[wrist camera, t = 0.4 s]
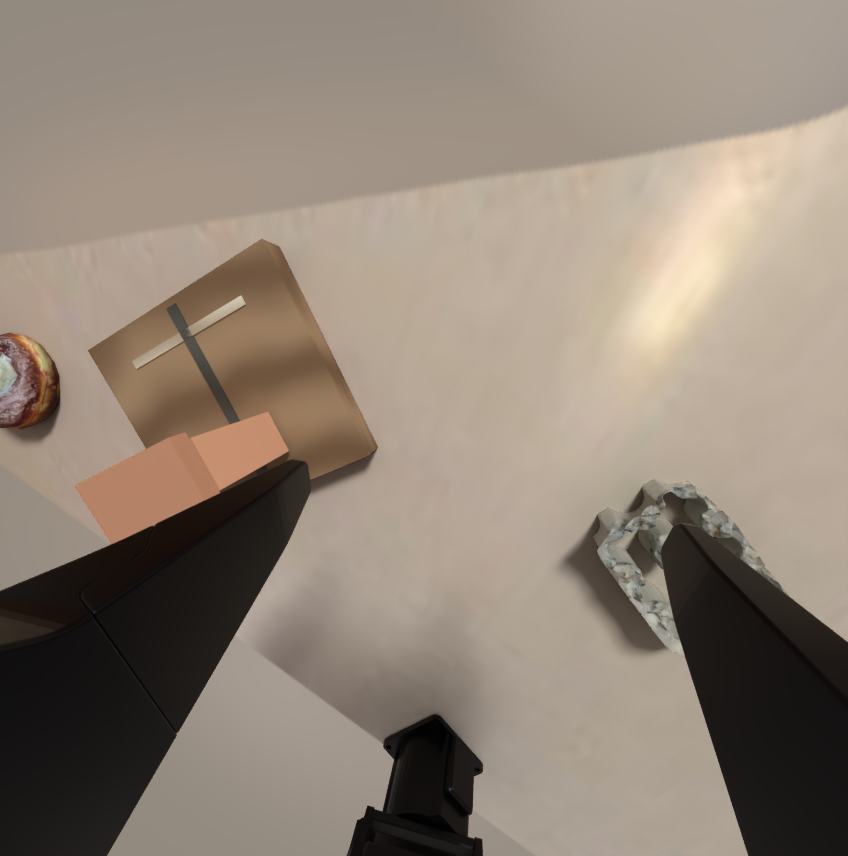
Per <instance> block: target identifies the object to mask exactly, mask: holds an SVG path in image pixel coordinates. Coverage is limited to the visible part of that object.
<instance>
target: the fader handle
mask: <svg viewBox="0 0 848 856" xmlns="http://www.w3.org/2000/svg"><path fill="white" fill-rule="evenodd" d="M288 451H289V450H288V448H287V446H286V444H285V442H284V441H283V439H282V437H281V435H280V433H279V431H278V429H277V427H276V426H275V424H274V422H273V420H272V418H271V416H270V414H269V412H265V413H262V414H259V415H256V416H253V417H250V418H248V419H245V420H242V421H239V422H236V423H233V424H230V425H227V426H224V427H221V428H218V429H215V430H212V431H209V432H206V433H203V434H200V435H197V436H195V437H192V438H188V436H187V434H186V432H185V433H182V434H178V435H175V436H172V437H169V438H167V439H165V440H163V441H161V442H159V443H157V444H155V445H153V446H151V447H149V448H147V449H145V450H143V451H141V452H139V453H137V454H136V455H134V456H132V457H130V458H128V459H126V460H124V461H122V462H120V463H118V464H116V465H114V466H112V467H110V468H108V469H106V470H104V471H102V472H100V473H98V474H97V475H95V476H93V477H91V478H89V479H87V480H85V481H83V482H81V483H79V484H77V485H75V488H76V489H77V491H78V493H79V494H80V496H81V497H82V499H83V500H84V502H85V504H86V505H87V507H88V508H89V510H90V511H91V513H92V514H93V516H94V518H95V519H96V521H97V522H98V524H99V525H100V527H101V529H102V530H103V532H104V533H105V535H106V536H107V538H108V540H109V541H110V543H111V544H113V543H115V542H118V541H120V540H122V539H124V538H126V537H128V536H131V535H133V534H135V533H137V532H139V531H141V530H143V529H145V528H147V527H150V526H155V524H156V523H158V522H160V521H162V520H164V519H166V518H169V517H171V516H173V515H175V514H177V513H179V512H181V511H183V510H185V509H187V508H189V507H192V506H194V505H196V504H198V503H200V502H202V501H204V500H206V499H208V498H210V497H212V496H215V495H217V494H219V493H220V492H219V491H220V490H222V489H223V488H225V487H227V486H229V485H230V484H232V483H234V482H236V481H237V480H239V479H241V478H243V477H244V476H246V475H248V474H250V473H251V472H253V471H255V470H257V469H258V468H260V467H262V466H264V465H265V464H267V463H269V462H271V461H272V460H274V459H276V458H278V457H279V456H281V455H283V454H285V453H286V452H288Z"/></svg>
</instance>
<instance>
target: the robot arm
mask: <svg viewBox="0 0 848 856" xmlns="http://www.w3.org/2000/svg"><path fill="white" fill-rule="evenodd" d="M310 491H311V481H310V474H309V467H308V464H307V462H306V461H303V460H297V459H290V460H288V461H286V462H284V463H281V464H279V465H277V466H275V467H273V468H271V469H269V470H267V471H265V472H263V473H261V474H259V475H256V476H254V477H252V478H250V479H248V480H246V481H244V482H242V483H240V484H238V485H236V486H233V487H231V488H229V489H227V490H225V491H223V492H221V493H219V494H217V495H215V496H212V497H210V498H208V499H206V500H204V501H202V502H200V503H198V504H196V505H194V506H192V507H189V508H187V509H185V510H183V511H181V512H179V513H177V514H175V515H173V516H171V517H169V518H166V519H164V520H162V521H160V522H158V523H156V524H155V526H150V527H147V528H145V529H143V530H141V531H139V532H137V533H135V534H133V535H131V536H128V537H126V538H124V539H122V540H120V541H118V542H115V543H113V544H111V545H109V546H107V547H105V548H102V549H100V550H98V551H95V552H93V553H91V554H88V555H86V556H84V557H81V558H79V559H76V560H74V561H71V562H69V563H67V564H65V565H62V566H59V567H57V568H55V569H52V570H50V571H47V572H45V573H42V574H40V575H38V576H35V577H33V578H30V579H28V580H25V581H23V582H21V583H18V584H16V585H13V586H11V587H8V588H6V589H4V590H1V591H0V856H107V854H108V853H109V851H110V849H111V848H112V846H113V844H114V842H115V841H116V839H117V837H118V836H119V834H120V832H121V831H122V829H123V827H124V825H125V824H126V822H127V820H128V819H129V817H130V815H131V813H132V812H133V810H134V808H135V806H136V805H137V803H138V801H139V800H140V798H141V796H142V794H143V793H144V791H145V789H146V787H147V786H148V784H149V782H150V781H151V779H152V777H153V775H154V774H155V772H156V770H157V768H158V766H159V765H160V763H161V762H162V760H163V758H164V757H165V755H166V753H167V751H168V750H169V748H170V746H171V744H172V743H173V741H174V739H175V738H176V735H177V734H176V733H177V732H179V730H180V728H181V727H182V725H183V723H184V722H185V720H186V718H187V716H188V715H189V713H190V711H191V710H192V707H193V706H194V704H195V703H196V701H197V699H198V697H199V696H200V694H201V692H202V691H203V689H204V687H205V685H206V684H207V682H208V680H209V678H210V677H211V675H212V673H213V672H214V670H215V668H216V666H217V665H218V663H219V661H220V660H221V658H222V656H223V654H224V652H225V651H226V649H227V648H228V646H229V644H230V642H231V641H232V639H233V637H234V635H235V634H236V632H237V630H238V629H239V627H240V625H241V623H242V622H243V620H244V618H245V616H246V615H247V613H248V611H249V610H250V608H251V606H252V604H253V603H254V601H255V599H256V598H257V596H258V594H259V592H260V591H261V589H262V587H263V585H264V584H265V582H266V580H267V579H268V577H269V575H270V573H271V572H272V570H273V568H274V567H275V565H276V563H277V561H278V560H279V558H280V556H281V554H282V553H283V551H284V549H285V547H286V546H287V544H288V542H289V539H290V537H291V535H292V533H293V531H294V528H295V526H296V524H297V522H298V519H299V517H300V515H301V513H302V510H303V508H304V506H305V504H306V501H307V499H308V497H309V494H310ZM661 560H662V565H663V570H664V575H665V580H666V585H667V590H668V595H669V600H670V605H671V610H672V615H673V619H674V623H675V626H676V629H677V633H678V636H679V639H680V642H681V645H682V648H683V652H684V655H685V658H686V661H687V664H688V667H689V671H690V674H691V677H692V680H693V683H694V686H695V689H696V693H697V696H698V699H699V702H700V705H701V708H702V711H703V715H704V718H705V721H706V724H707V727H708V730H709V733H710V737H711V740H712V743H713V746H714V749H715V752H716V755H717V759H718V762H719V765H720V768H721V771H722V774H723V777H724V781H725V784H726V787H727V790H728V793H729V796H730V800H731V803H732V806H733V809H734V812H735V815H736V818H737V822H738V825H739V828H740V831H741V834H742V837H743V840H744V844H745V847H746V850H747V853H748V856H848V642H847V641H846V640H844V639H843V638H842V637H840V636H839V635H838V634H837V633H835V632H834V631H833V630H831V629H830V628H829V627H828V626H826V625H825V624H824V623H822V622H821V621H820V620H819V619H817V618H816V617H815V616H813V615H812V614H811V613H810V612H808V611H807V610H806V609H804V608H803V607H802V606H801V605H799V604H798V603H797V602H795V601H794V600H793V599H792V598H790V597H789V596H788V595H786V594H785V593H784V592H783V591H781V590H780V589H779V588H777V587H776V586H775V585H774V584H772V583H771V582H770V581H768V580H767V579H766V578H765V577H763V576H762V575H761V574H759V573H758V572H757V571H756V570H754V569H753V568H752V567H750V566H749V565H748V564H747V563H745V562H744V561H743V560H741V559H740V558H739V557H738V556H736V555H735V554H734V553H732V552H731V551H730V550H729V549H727V548H726V547H725V546H723V545H722V544H721V543H720V542H718V541H717V540H716V539H714V538H713V537H712V536H711V535H709V534H708V533H707V532H705V531H704V530H703V529H702V528H700V527H699V526H697V525H693V524H687V523H676V524H675V525H674V526H673V527H672V529H671V531H670V532H669V534H668V536H667V538H666V540H665V541H664V543H663V545H662V548H661ZM383 746H384V749H385V750H386V751H387V752H388V753H389V754H390V755H391V756H392V758H393V759H394V763H393V767H392V772H391V776H390V780H389V785H388V789H387V794H386V798H385V803H384V807H383V812H382V811H379V810H375V809H374V807H371V806H367V809H366V813H365V816H364V818H361V819H360V820H357V823H356V826H355V830H354V834H353V837H352V841H351V844H350V848H349V851H348V853H347V856H483V849H482V839H480V838H476V837H475V838H474V839H473V838H470V837H468V820H469V815H471V814H472V810H473V784H474V776H476V775H478V774H481V773H482V772H483V764H482V762H481V761H480V760H479V759H478V758H477V757H476V755H475V754H474V753H473V752H472V751H471V750H470V749H469V748H468V746H467V745H466V744H465V743H464V742H463V741H462V740H461V739H460V738H459V736H458V735H457V734H456V733H455V732H454V731H453V730H452V729H451V727H450V726H449V725H448V724H447V723H446V722H445V721H444V720H443V718H442V717H441V716H439V715H433V716H431V717H429V718H427V719H425V720H423V721H421V722H419V723H417V724H415V725H413V726H411V727H409V728H406V729H404V730H402V731H400V732H398V733H396V734H394V735H392V736H390V737H388V738H386V739H385V741H384V745H383Z"/></svg>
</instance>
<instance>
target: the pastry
mask: <svg viewBox="0 0 848 856" xmlns="http://www.w3.org/2000/svg"><path fill="white" fill-rule="evenodd" d="M59 399H60V381H59V373H58V371H57V368H56V365H55V363H54V361H53V360H52V359H51V357H50V356H49V355H48V353H47V352H46V350H45V349H44V348H43V346H41V345H40V344H38V343H37V342H35V341H34V340H32V339H31V338H29V337H27V336H22V335H17V334H12V333H7V334H3V335H0V428H14V429H23V428H26V427H29V426H32V425H35V424H37V423H39V422H41V421H43V420H45V419H46V418H47V417H48V416H49V415H50V414H51V413H52V412H53V411H54V409H55V407H56V405H57V404H58V402H59Z"/></svg>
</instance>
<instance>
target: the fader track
mask: <svg viewBox="0 0 848 856" xmlns="http://www.w3.org/2000/svg"><path fill="white" fill-rule="evenodd" d="M88 351H89V353H90V355H91V357H92V358H93V360H94V362H95V363H96V365H97V367H98V368H99V370H100V372H101V373H102V375H103V377H104V378H105V380H106V382H107V383H108V385H109V387H110V388H111V390H112V392H113V393H114V395H115V397H116V399H117V400H118V402H119V404H120V405H121V407H122V409H123V410H124V412H125V414H126V415H127V417H128V419H129V420H130V422H131V424H132V425H133V427H134V429H135V430H136V432H137V434H138V436H139V437H140V439H141V441H142V442H143V444H144V446H145V447H146V449H147V448H149V447H151V446H153V445H155V444H157V443H159V442H161V441H163V440H165V439H167V438H169V437H172V436H175V435H178V434H182V433H185V432H186V434H187V436H188V438H192V437H195V436H197V435H200V434H203V433H206V432H209V431H212V430H215V429H218V428H221V427H224V426H227V425H230V424H233V423H236V422H239V421H242V420H245V419H248V418H250V417H253V416H256V415H259V414H262V413H265V412H269V414H270V416H271V418H272V420H273V422H274V424H275V426H276V427H277V429H278V431H279V433H280V435H281V437H282V439H283V441H284V442H285V444H286V446H287V448H288V450H289V451H288V452H286V453H285V454H283V455H281V456H279V457H278V458H276V459H274V460H272V461H271V462H269V463H267V464H265V465H264V466H262V467H260V468H258V469H257V470H255V471H253V472H251V473H250V474H248V475H246V476H244V477H243V478H241V479H239V480H237V481H236V482H234V483H232V484H230V485H229V486H227V487H225V488H223V489H222V490H220V491H219V492H220V493H221V492H223V491H225V490H227V489H229V488H231V487H233V486H236V485H238V484H240V483H242V482H244V481H246V480H248V479H250V478H252V477H254V476H256V475H259V474H261V473H263V472H265V471H267V470H269V469H271V468H273V467H275V466H277V465H279V464H281V463H284V462H286V461H288V460H290V459H297V460H303V461H306V462H307V464H308V467H309V474H310V480H312V479H314V478H316V477H319V476H321V475H323V474H326V473H328V472H331V471H333V470H335V469H338V468H340V467H343V466H345V465H347V464H350V463H352V462H355V461H357V460H359V459H362V458H364V457H367V456H369V455H370V454H371V453H372V452H373V451H374V450H375V449H376V448H377V447H378V446H377V444H376V442H375V440H374V438H373V436H372V434H371V432H370V430H369V428H368V426H367V424H366V422H365V420H364V418H363V416H362V414H361V412H360V410H359V408H358V406H357V404H356V402H355V400H354V398H353V396H352V393H351V391H350V389H349V387H348V385H347V383H346V381H345V379H344V377H343V375H342V373H341V371H340V369H339V367H338V365H337V363H336V361H335V359H334V357H333V355H332V353H331V351H330V349H329V347H328V345H327V343H326V341H325V339H324V337H323V334H322V332H321V330H320V328H319V326H318V324H317V322H316V320H315V318H314V316H313V314H312V312H311V310H310V308H309V306H308V304H307V302H306V300H305V298H304V296H303V294H302V292H301V290H300V288H299V286H298V284H297V282H296V280H295V277H294V275H293V273H292V271H291V269H290V267H289V265H288V263H287V261H286V259H285V257H284V255H283V253H282V251H281V249H280V247H279V246H277V245H275V244H272V243H270V242H268V241H265V240H263V239H261V240H259V241H258V242H256V243H255V244H253V245H251V246H250V247H248V248H247V249H245V250H244V251H242V252H241V253H239V254H237V255H236V256H234V257H233V258H231V259H230V260H228V261H227V262H225V263H223V264H222V265H220V266H219V267H217V268H216V269H214V270H213V271H211V272H209V273H208V274H206V275H205V276H203V277H202V278H200V279H198V280H197V281H195V282H194V283H192V284H191V285H189V286H188V287H186V288H184V289H183V290H181V291H180V292H178V293H177V294H175V295H174V296H172V297H170V298H169V299H167V300H166V301H164V302H163V303H161V304H160V305H158V306H156V307H155V308H153V309H152V310H150V311H149V312H147V313H146V314H144V315H142V316H141V317H139V318H138V319H136V320H135V321H133V322H132V323H130V324H128V325H127V326H125V327H124V328H122V329H121V330H119V331H118V332H116V333H114V334H113V335H111V336H110V337H108V338H107V339H105V340H103V341H102V342H100V343H99V344H97V345H96V346H94V347H93V348H91V349H89V350H88Z"/></svg>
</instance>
